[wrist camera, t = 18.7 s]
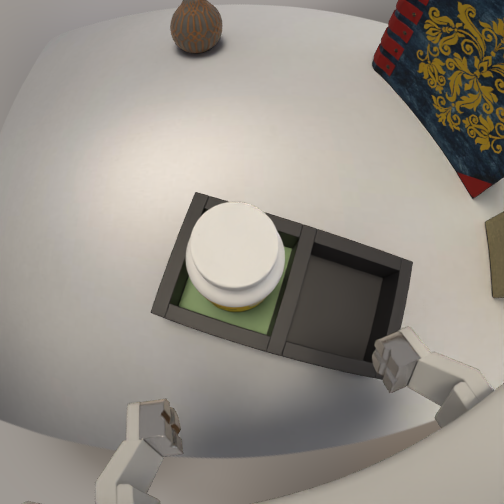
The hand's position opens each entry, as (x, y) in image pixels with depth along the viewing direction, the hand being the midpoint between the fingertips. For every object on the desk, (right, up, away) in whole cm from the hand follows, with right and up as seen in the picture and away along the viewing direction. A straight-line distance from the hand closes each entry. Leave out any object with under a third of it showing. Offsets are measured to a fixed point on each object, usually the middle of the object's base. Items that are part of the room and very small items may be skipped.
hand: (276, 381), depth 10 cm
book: (+24, +24, +23) cm, 41 cm away
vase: (-8, +34, +25) cm, 43 cm away
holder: (+2, +1, +17) cm, 17 cm away
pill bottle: (-2, +2, +16) cm, 16 cm away
